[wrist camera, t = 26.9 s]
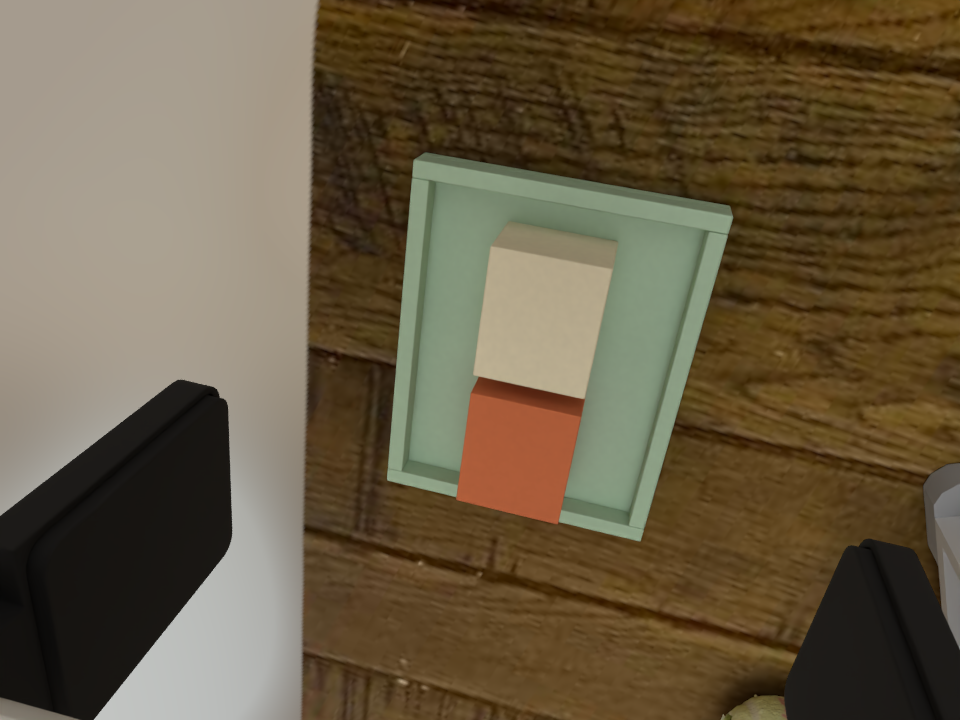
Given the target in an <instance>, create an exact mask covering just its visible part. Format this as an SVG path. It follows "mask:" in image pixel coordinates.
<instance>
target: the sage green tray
mask: <svg viewBox="0 0 960 720" xmlns="http://www.w3.org/2000/svg"><path fill="white" fill-rule="evenodd" d="M412 176H413V178H412V184H411V196H410V208H409V220H408V232H407V244H406V256H405V268H404V280H403V292H402V304H401V316H400V328H399V340H398V352H397V364H396V376H395V388H394V400H393V413H392V425H391V437H390V449H389V461H388V473H387V480H388V481H392V482H396V483H400V484H404V485H408V486H413V487H417V488H421V489H425V490H429V491H433V492H437V493H442V494H446V495H450V496H454V497H457V489H458V482H459V475H460V468H461V460H462V453H463V446H464V438H465V431H466V424H467V416H468V409H469V402H470V394H471V392H472V390H473V388H474V386H475V384H476V382H477V379H478V377H479V376H475V375H473V370H474V362H475V355H476V348H477V340H478V333H479V326H480V318H481V311H482V304H483V296H484V289H485V282H486V274H487V267H488V260H489V253H490V247H491V245H492V244H493V242H494V241H495V240H496V238H497V237H498V235H499V234H500V233H501V231H502V230H503V228H504V227H505V226H506V224H507V223H508V221H512V222H517V223H522V224H528V225H533V226H538V227H544V228H549V229H555V230H560V231H565V232H571V233H576V234H581V235H587V236H592V237H598V238H603V239H608V240H614V241H617V242H618V247H617V252H616V257H615V263H614V268H613V273H612V277H611V282H610V287H609V291H608V296H607V300H606V305H605V309H604V314H603V319H602V323H601V328H600V332H599V337H598V342H597V346H596V351H595V355H594V360H593V364H592V369H591V374H590V378H589V383H588V387H587V392H586V397H585V402H584V407H583V412H582V417H581V422H580V426H579V431H578V436H577V440H576V445H575V449H574V454H573V458H572V463H571V468H570V472H569V477H568V481H567V486H566V491H565V495H564V500H563V504H562V509H561V513H560V518H559V522H561V523H566V524H570V525H574V526H578V527H582V528H586V529H590V530H595V531H599V532H603V533H607V534H611V535H615V536H619V537H623V538H628V539H632V540H636V541H641V538H642V535H643V531H644V527H645V524H646V520H647V517H648V513H649V510H650V506H651V503H652V499H653V496H654V492H655V489H656V485H657V482H658V478H659V475H660V471H661V468H662V464H663V461H664V458H665V454H666V451H667V447H668V444H669V440H670V437H671V433H672V430H673V426H674V423H675V419H676V416H677V412H678V409H679V405H680V402H681V398H682V395H683V391H684V388H685V384H686V381H687V377H688V374H689V370H690V367H691V363H692V360H693V356H694V353H695V349H696V346H697V342H698V339H699V335H700V332H701V328H702V325H703V321H704V318H705V314H706V311H707V307H708V304H709V300H710V297H711V293H712V290H713V286H714V283H715V279H716V276H717V272H718V269H719V265H720V262H721V258H722V255H723V251H724V248H725V244H726V241H727V237H728V235H727V234H728V233H729V230H730V227H731V223H732V220H733V215H732V212H731V208H730V206H728V205H722V204H716V203H711V202H705V201H699V200H694V199H688V198H682V197H677V196H671V195H665V194H660V193H654V192H648V191H643V190H637V189H631V188H625V187H620V186H614V185H608V184H603V183H597V182H591V181H586V180H580V179H574V178H569V177H563V176H557V175H552V174H546V173H540V172H535V171H529V170H523V169H517V168H512V167H506V166H500V165H495V164H489V163H483V162H478V161H472V160H466V159H461V158H455V157H449V156H444V155H438V154H432V153H424V154H422V155H421V156H419V157H417V158H416V159H414V161H413V173H412Z"/></svg>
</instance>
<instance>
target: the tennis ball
mask: <svg viewBox="0 0 960 720" xmlns="http://www.w3.org/2000/svg"><path fill="white" fill-rule="evenodd" d="M721 720H787V716H786V710H785V702H784V697H782V696H778V695H776V696H775V695H773V696H769V695H767V696H757V694H755V695H754V697H752V698H750V699H749V700H747V701H745V702H743V704H742V705H740V706H736V707H735V708H734V709H732V711H730V712H729V713H728V714H726V716H724V714H723V716H722V718H721Z"/></svg>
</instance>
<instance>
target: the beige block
mask: <svg viewBox="0 0 960 720" xmlns="http://www.w3.org/2000/svg"><path fill="white" fill-rule="evenodd" d="M617 247H618V242H617V241H614V240H608V239H603V238H598V237H592V236H587V235H581V234H576V233H571V232H565V231H560V230H555V229H549V228H544V227H538V226H533V225H528V224H522V223H517V222H512V221H508V223H507V224H506V226H505V227H504V228H503V230H502V231H501V233H500V234H499V235H498V237H497V238H496V240H495V241H494V242H493V244H492V245H491V247H490V253H489V260H488V267H487V274H486V282H485V289H484V296H483V304H482V311H481V318H480V326H479V333H478V340H477V348H476V355H475V362H474V370H473V375H475V376H479V377H484V378H488V379H493V380H498V381H502V382H507V383H511V384H516V385H521V386H525V387H530V388H534V389H539V390H544V391H548V392H553V393H557V394H562V395H567V396H571V397H576V398H580V399H585V397H586V392H587V387H588V383H589V378H590V374H591V369H592V364H593V360H594V355H595V351H596V346H597V342H598V337H599V332H600V328H601V323H602V319H603V314H604V309H605V305H606V300H607V296H608V291H609V287H610V282H611V277H612V273H613V268H614V263H615V257H616V252H617Z"/></svg>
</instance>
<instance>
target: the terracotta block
mask: <svg viewBox="0 0 960 720" xmlns="http://www.w3.org/2000/svg"><path fill="white" fill-rule="evenodd" d="M584 402H585V399H580V398H576V397H571V396H567V395H562V394H557V393H553V392H548V391H544V390H539V389H534V388H530V387H525V386H521V385H516V384H511V383H507V382H502V381H498V380H493V379H488V378H484V377H478V379H477V382H476V384H475V386H474V388H473V390H472V392H471V394H470V402H469V409H468V416H467V424H466V431H465V438H464V446H463V453H462V460H461V468H460V475H459V482H458V489H457V497H456V500H458V501H463V502H467V503H471V504H475V505H479V506H483V507H487V508H491V509H496V510H500V511H504V512H508V513H512V514H516V515H520V516H525V517H529V518H533V519H537V520H541V521H545V522H549V523H553V524H558V523H559V518H560V513H561V509H562V504H563V500H564V495H565V491H566V486H567V481H568V477H569V472H570V468H571V463H572V458H573V454H574V449H575V445H576V440H577V436H578V431H579V426H580V422H581V417H582V412H583V407H584Z"/></svg>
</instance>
